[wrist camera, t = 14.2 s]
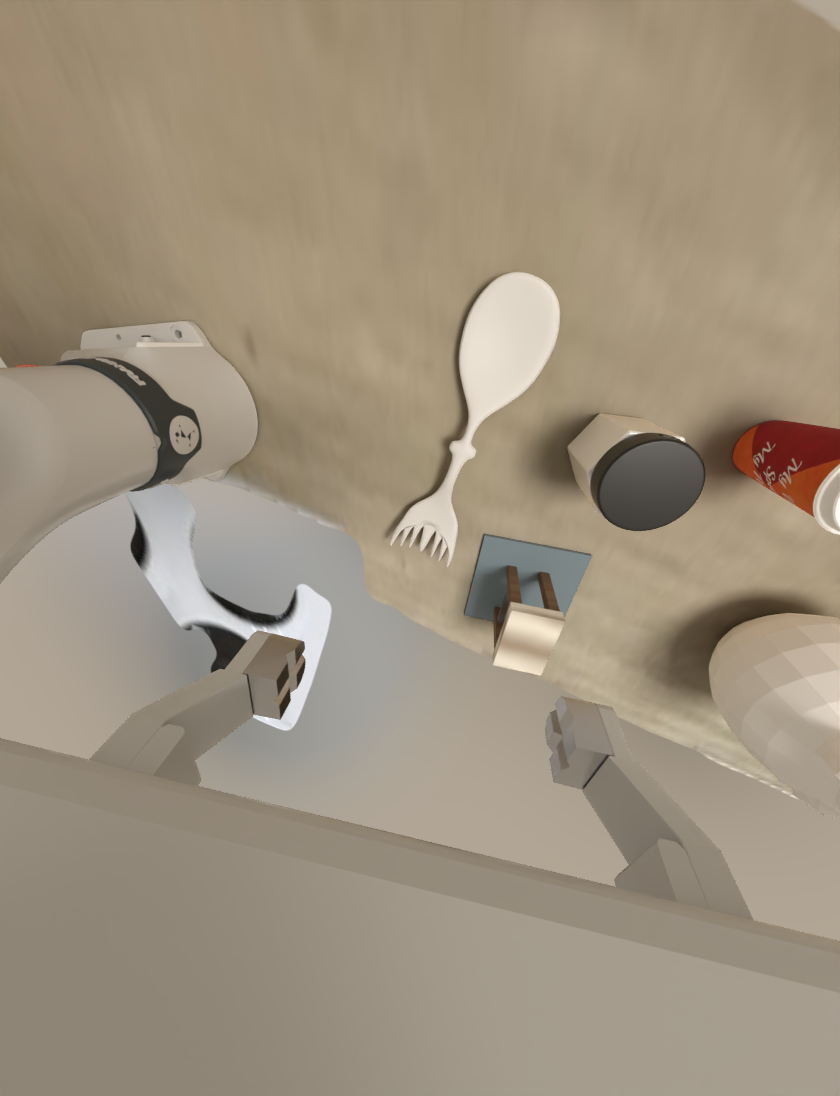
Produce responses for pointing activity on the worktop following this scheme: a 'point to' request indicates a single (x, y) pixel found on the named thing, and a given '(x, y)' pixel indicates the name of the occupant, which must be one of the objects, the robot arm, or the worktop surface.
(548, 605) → the stool
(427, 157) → the worktop surface
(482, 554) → the mat
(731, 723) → the white vase
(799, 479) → the paper cup
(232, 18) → the worktop surface
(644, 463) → the jar
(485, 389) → the white spork
